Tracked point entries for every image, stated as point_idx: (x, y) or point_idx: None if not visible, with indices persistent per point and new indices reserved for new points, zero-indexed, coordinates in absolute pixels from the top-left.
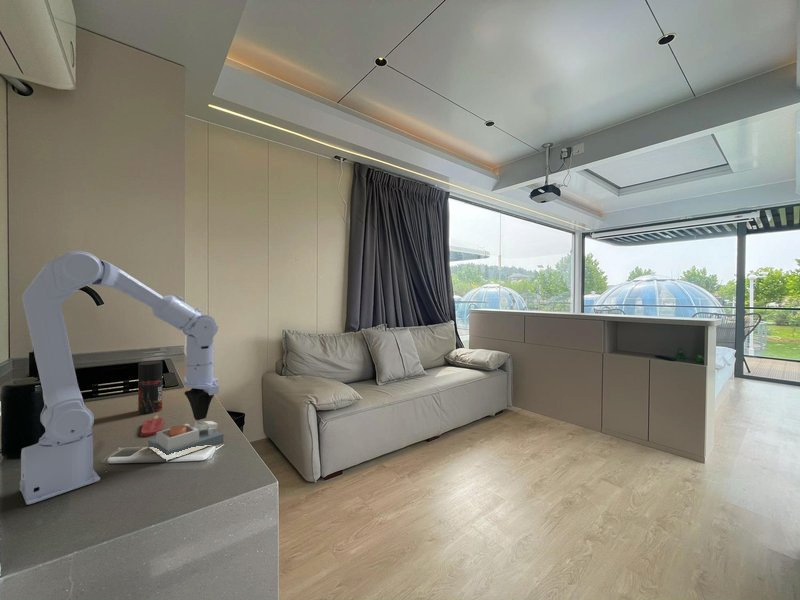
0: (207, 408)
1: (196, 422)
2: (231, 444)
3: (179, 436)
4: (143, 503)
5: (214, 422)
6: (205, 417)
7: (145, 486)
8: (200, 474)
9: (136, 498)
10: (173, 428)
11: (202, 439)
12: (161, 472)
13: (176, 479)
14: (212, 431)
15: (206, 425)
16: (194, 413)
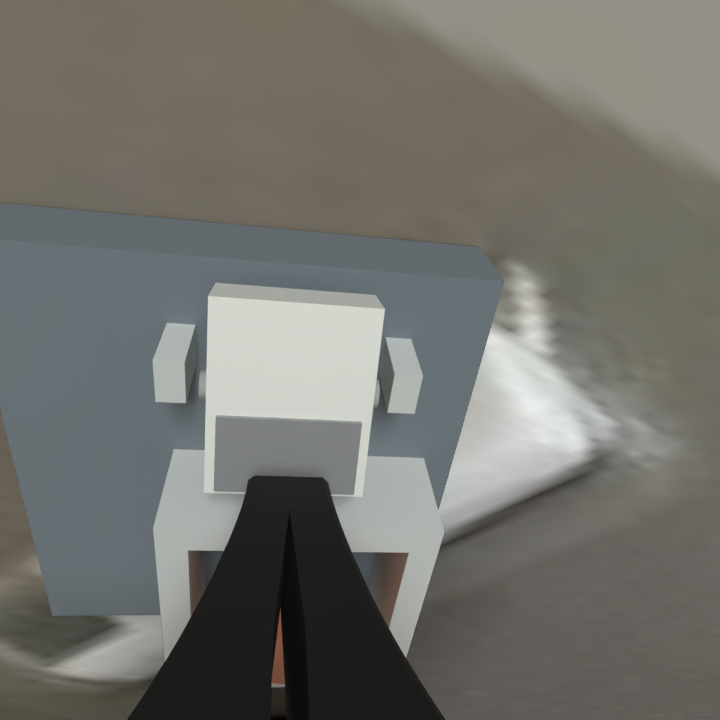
0: (362, 590)
1: (234, 492)
2: (591, 236)
3: (412, 632)
4: (647, 676)
5: (298, 306)
6: (327, 490)
7: (542, 653)
8: (704, 528)
9: (592, 680)
10: (275, 665)
11: (431, 438)
12: (489, 601)
13: (622, 589)
14: (417, 363)
15: (369, 437)
16: (284, 647)
